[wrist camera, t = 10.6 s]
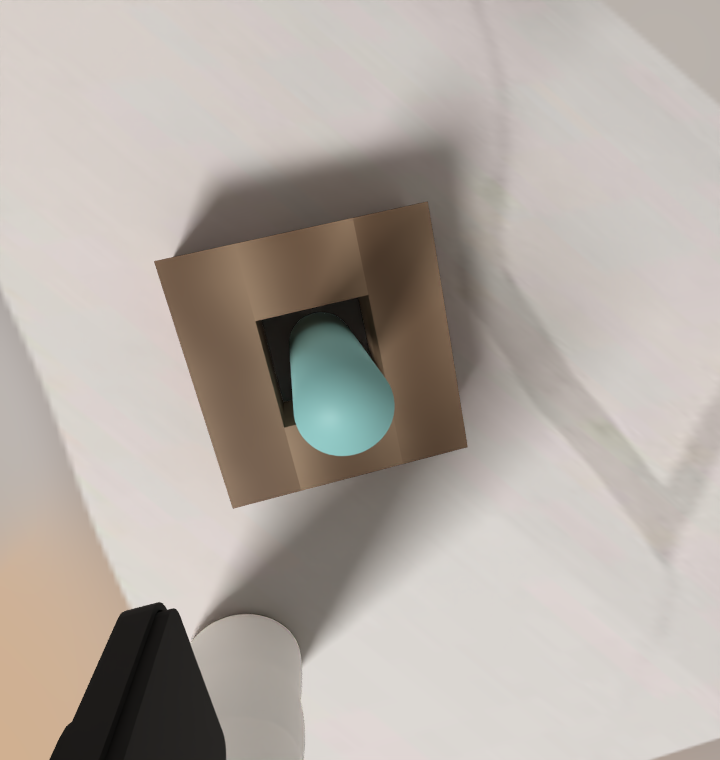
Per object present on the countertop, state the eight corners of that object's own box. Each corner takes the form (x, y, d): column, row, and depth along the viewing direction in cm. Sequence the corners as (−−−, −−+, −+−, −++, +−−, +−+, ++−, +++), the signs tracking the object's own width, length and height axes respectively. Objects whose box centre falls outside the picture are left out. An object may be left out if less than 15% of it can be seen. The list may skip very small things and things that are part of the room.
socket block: (406, 206, 27) (427, 201, 23) (443, 420, 30) (467, 446, 26) (172, 257, 26) (154, 261, 22) (238, 473, 29) (232, 508, 25)
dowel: (345, 305, 28) (384, 348, 17) (358, 366, 29) (403, 442, 18) (282, 320, 27) (282, 373, 17) (297, 380, 28) (306, 466, 18)
